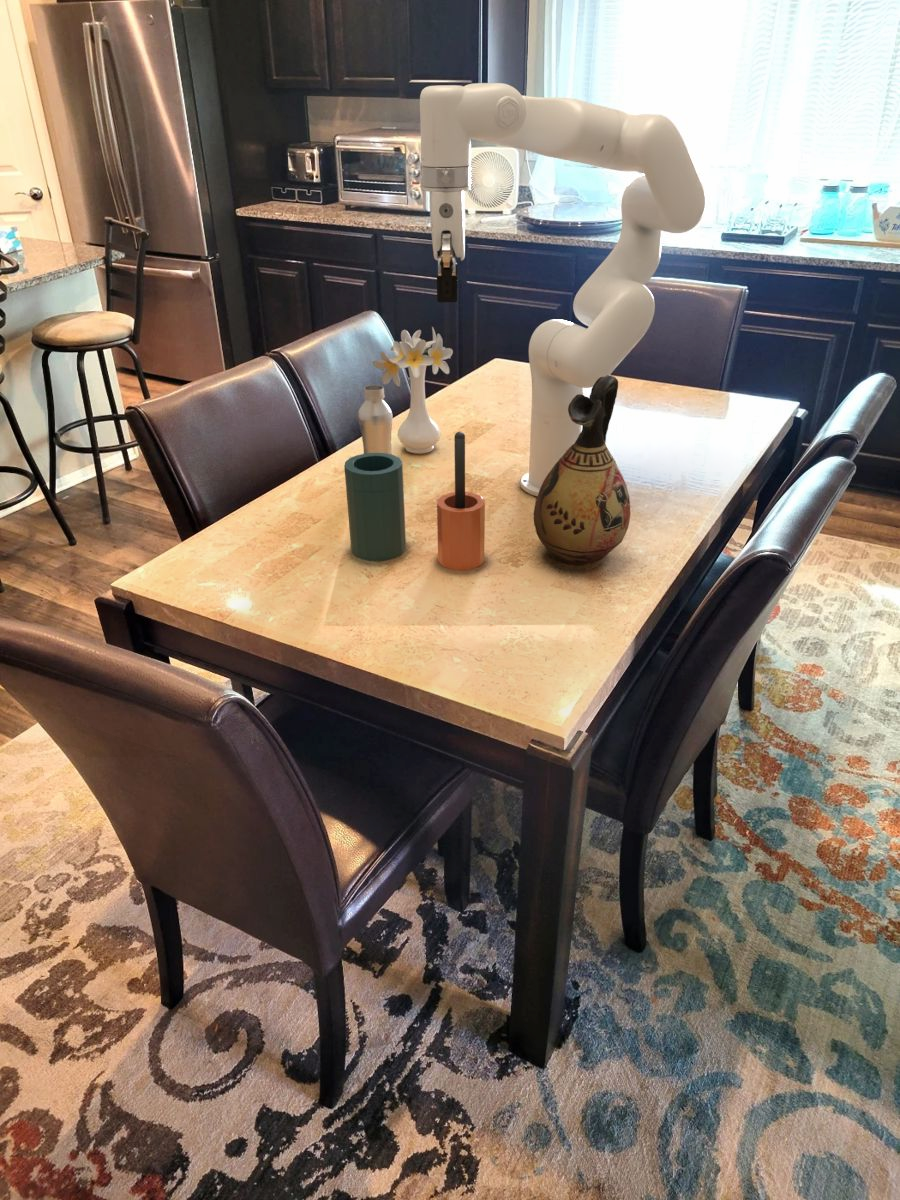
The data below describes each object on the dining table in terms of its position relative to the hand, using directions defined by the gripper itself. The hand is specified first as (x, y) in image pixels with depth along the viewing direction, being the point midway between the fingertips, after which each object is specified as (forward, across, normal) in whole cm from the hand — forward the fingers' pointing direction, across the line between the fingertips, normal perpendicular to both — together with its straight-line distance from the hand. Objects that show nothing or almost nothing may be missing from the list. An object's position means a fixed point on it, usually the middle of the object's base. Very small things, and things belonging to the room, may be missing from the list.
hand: (447, 295), depth 139 cm
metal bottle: (+38, +10, +14) cm, 42 cm away
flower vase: (+38, +30, +7) cm, 49 cm away
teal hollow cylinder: (+38, -17, +12) cm, 44 cm away
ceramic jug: (+38, -19, -22) cm, 48 cm away
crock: (+38, -21, -2) cm, 44 cm away
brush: (+38, -21, -2) cm, 43 cm away
